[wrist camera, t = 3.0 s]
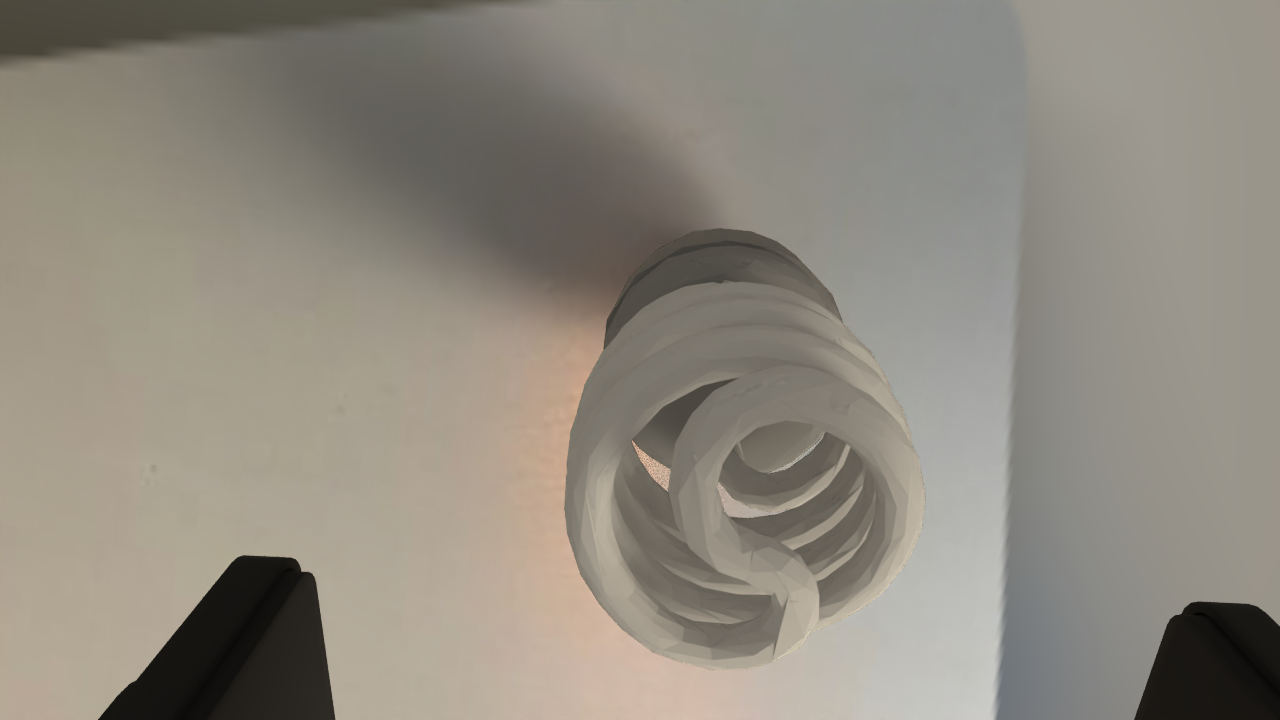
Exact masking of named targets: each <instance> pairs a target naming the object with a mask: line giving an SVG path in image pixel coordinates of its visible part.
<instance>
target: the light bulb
mask: <svg viewBox="0 0 1280 720" xmlns="http://www.w3.org/2000/svg"><path fill="white" fill-rule="evenodd" d="M824 434H825V435H824ZM823 435H824V437H823V439H822V440H821V441H820V442H819V444H818V445H817V446H816V447H815V448H814V449H813V450H812V452H811V453H809V454H808V455H806V456H805V457H804V458H802V459H801V460H800V461H798V462H797V463H795V464H794V465H793V466H791V467H790V468H788V469H786V470H783V471H779V472H774V473H770V474H767V473H769V472H771V471H773V470H776V469H778V468H780V467H782V466H784V465H786V464H789V463H791V462H792V461H794V460H795V459H796V458H798V457H799V456H800V455H802V454H803V453H804V452H805V451H807V450H808V449H809V448H811V447H812V446H813V445H815V444H816V443H817V441H818V440H819V439H820V438H821V437H822V436H823ZM632 440H633V441H634V442H635V444H636V445H637V446H638V447H639V448H640V449H641V450H642V451H644V452H645V453H646V454H647V455H648V456H650V457H651V458H653V459H654V460H656V461H658V462H659V463H661V464H663V465H664V466H666V467H668V468H669V469H671V473H670V480H669V487H668V492H667V491H666V490H664V489H663V488H662V487H661V486H660V485H659V484H658V483H657V482H656V481H655V480H654V479H653V478H652V477H651V475H650V474H649V472H648V471H647V470H646V468H645V467H644V465H643V464H642V462H641V461H640V458H639V456H638V454H637V452H636V450H635V448H634V446H633V443H632ZM718 481H719V482H720V483H721V485H722V486H723V487H724V488H725V489H726V491H727V492H728V493H729V494H730V495H731V496H732V498H734V499H735V500H737V501H739V502H741V503H743V504H745V505H747V506H748V507H750V508H754V509H758V510H762V511H766V512H774V511H781V510H787V509H791V510H788V511H785V512H782V513H779V514H776V515H769V516H762V517H755V518H737V517H729V516H728V515H727V514H726V513H725V512H724V509H723V506H722V502H721V499H720V495H719V492H718V489H717V485H718ZM925 499H926V494H925V488H924V483H923V478H922V472H921V468H920V463H919V459H918V456H917V454H916V452H915V450H914V448H913V446H912V439H911V433H910V430H909V427H908V424H907V421H906V418H905V414H904V411H903V408H902V406H901V405H900V404H899V402H898V401H897V399H896V398H895V397H894V395H893V394H892V391H891V388H890V386H889V383H888V380H887V378H886V376H885V374H884V372H883V371H882V369H881V368H880V366H879V364H878V363H877V361H876V360H875V358H874V356H873V355H872V353H871V352H870V350H869V349H868V348H867V347H866V346H865V345H864V344H863V343H861V342H860V341H859V340H858V339H857V338H856V337H855V336H854V335H853V334H852V333H851V331H850V330H849V329H848V328H847V327H846V326H845V325H844V324H843V322H842V319H841V316H840V314H839V311H838V308H837V306H836V303H835V300H834V298H833V295H832V294H831V293H830V292H829V291H828V290H827V288H826V287H825V286H824V285H823V284H822V283H821V282H820V281H819V280H818V279H817V278H816V277H815V275H814V274H813V273H812V272H811V271H810V270H809V269H808V268H807V267H806V266H805V265H804V264H803V263H802V261H801V260H800V259H799V258H798V257H797V256H796V255H795V254H793V253H792V252H791V251H789V250H788V249H786V248H785V247H784V246H782V245H781V244H779V243H778V242H777V241H774V240H772V239H769V238H767V237H764V236H761V235H759V234H756V233H754V232H751V231H742V230H732V229H722V228H719V229H711V230H704V231H696V232H691V233H689V234H687V235H685V236H683V237H681V238H679V239H677V240H675V241H673V242H671V243H669V244H667V245H665V246H663V247H661V248H659V249H657V250H656V251H655V253H654V254H653V255H652V256H651V257H650V258H649V259H648V260H647V261H646V262H645V263H644V264H643V265H642V266H641V267H640V268H639V269H638V270H637V271H636V272H635V273H634V274H633V275H632V276H631V277H630V278H629V279H628V281H627V283H626V285H625V287H624V289H623V291H622V293H621V295H620V297H619V298H618V300H617V302H616V304H615V306H614V308H613V310H612V312H611V314H610V316H609V317H608V319H607V324H606V333H605V341H604V350H603V352H602V353H601V355H600V357H599V359H598V361H597V363H596V364H595V366H594V368H593V370H592V372H591V374H590V376H589V377H588V379H587V381H586V383H585V386H584V389H583V393H582V396H581V400H580V403H579V407H578V410H577V415H576V418H575V420H574V423H573V426H572V429H571V433H570V441H569V450H568V458H567V475H566V490H565V507H564V509H565V518H566V526H567V534H568V537H569V540H570V543H571V546H572V550H573V553H574V556H575V559H576V562H577V565H578V568H579V571H580V574H581V576H582V578H583V579H584V581H585V582H586V584H587V585H588V587H589V588H590V590H591V591H592V593H593V595H594V596H595V598H596V599H597V601H598V602H599V604H600V605H601V607H602V608H603V609H604V610H605V611H606V612H607V613H608V614H609V615H610V617H611V618H612V619H613V620H614V621H615V622H616V623H617V624H618V625H619V627H620V628H621V629H622V630H624V631H625V632H626V633H628V634H629V635H630V636H632V637H633V638H634V639H636V640H637V641H638V642H640V643H641V644H642V645H644V646H645V647H646V648H648V649H649V650H650V651H652V652H654V653H656V654H659V655H662V656H664V657H667V658H670V659H673V660H675V661H678V662H681V663H685V664H689V665H693V666H698V667H702V668H706V669H710V670H746V669H751V668H754V667H757V666H761V665H764V664H767V663H770V662H773V661H775V660H777V659H779V658H781V657H783V656H785V655H787V654H789V653H790V652H792V651H794V650H796V649H798V648H800V646H801V645H802V644H803V642H804V641H805V639H806V638H807V636H808V635H809V633H810V632H812V631H815V630H817V629H820V628H822V627H825V626H827V625H830V624H832V623H835V622H837V621H840V620H842V619H844V618H846V617H848V616H849V615H851V614H853V613H855V612H857V611H858V610H860V609H862V608H864V607H865V606H867V605H868V604H869V603H870V602H872V601H873V600H874V599H875V598H876V597H878V596H879V595H880V594H881V593H882V592H884V591H885V590H886V588H887V587H888V586H889V585H890V584H891V582H892V581H893V580H894V579H895V577H896V576H897V575H898V574H899V572H900V571H901V570H902V569H903V567H904V566H905V565H906V563H907V561H908V559H909V557H910V556H911V554H912V552H913V549H914V547H915V545H916V542H917V540H918V538H919V535H920V532H921V529H922V526H923V517H924V508H925Z"/></svg>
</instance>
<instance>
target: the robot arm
mask: <svg viewBox="0 0 1280 720" xmlns="http://www.w3.org/2000/svg"><path fill="white" fill-rule="evenodd" d="M98 720H335V714H334V707H333V700H332V693H331V686H330V679H329V671H328V664H327V657H326V650H325V643H324V636H323V629H322V622H321V615H320V608H319V600H318V593H317V586H316V581H315V577H314V576H313V574H312V573H310V572H301V568H300V565H299V563H298V562H297V560H296V559H293V558H287V557H267V556H246V555H243V556H240V557H237V558H236V559H235V560H234V561H233V562H232V563H231V564H230V565H229V567H228V568H227V569H226V570H225V572H224V573H223V574H222V575H221V576H220V578H219V579H218V580H217V581H216V583H215V584H214V585H213V586H212V588H211V589H210V590H209V591H208V593H207V594H206V595H205V596H204V597H203V599H202V600H201V601H200V602H199V604H198V605H197V606H196V607H195V609H194V610H193V611H192V612H191V614H190V615H189V616H188V617H187V618H186V620H185V621H184V622H183V623H182V625H181V626H180V627H179V628H178V630H177V631H176V632H175V633H174V635H173V636H172V637H171V638H170V639H169V641H168V642H167V643H166V644H165V646H164V647H163V648H162V649H161V651H160V652H159V653H158V654H157V655H156V657H155V658H154V659H153V660H152V662H151V663H150V664H149V665H148V667H147V668H146V669H145V670H144V672H143V673H142V674H141V675H140V676H139V678H138V679H137V680H136V681H134V682H132V683H130V684H129V685H128V686H127V687H126V688H125V689H124V690H123V691H122V692H121V693H120V694H119V695H118V696H117V697H116V698H115V700H114V701H113V702H112V703H111V704H110V706H109V707H108V708H107V709H106V711H105V712H104V713H103V714H102V715H101V717H100V718H99V719H98ZM1134 720H1280V626H1279V625H1278V624H1277V623H1276V622H1275V621H1274V620H1273V619H1272V618H1271V617H1269V615H1268V614H1266V613H1265V612H1264V611H1262V610H1261V609H1260V608H1259V607H1257V606H1253V605H1250V604H1238V603H1217V602H1193V603H1190V604H1189V605H1188V606H1187V607H1185V608H1184V610H1183V612H1182V614H1180V615H1175V616H1174V617H1172V618H1171V619H1170V621H1169V623H1168V624H1167V627H1166V630H1165V633H1164V635H1163V638H1162V641H1161V644H1160V647H1159V650H1158V653H1157V655H1156V658H1155V661H1154V664H1153V667H1152V670H1151V673H1150V676H1149V679H1148V681H1147V685H1146V687H1145V690H1144V693H1143V696H1142V699H1141V702H1140V705H1139V708H1138V710H1137V713H1136V716H1135V719H1134Z"/></svg>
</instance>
